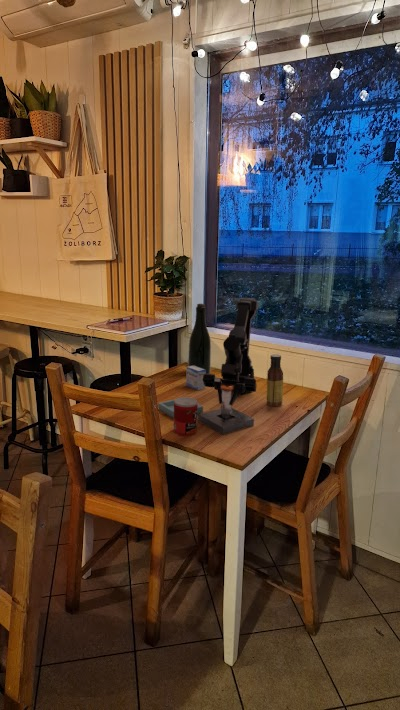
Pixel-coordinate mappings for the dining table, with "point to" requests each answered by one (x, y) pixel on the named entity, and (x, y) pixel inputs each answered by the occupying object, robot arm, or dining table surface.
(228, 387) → the hitch pin
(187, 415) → the canned food
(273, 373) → the sauce bottle
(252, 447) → the dining table surface
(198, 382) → the medicine box
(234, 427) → the block
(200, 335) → the wine bottle
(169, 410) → the tray
